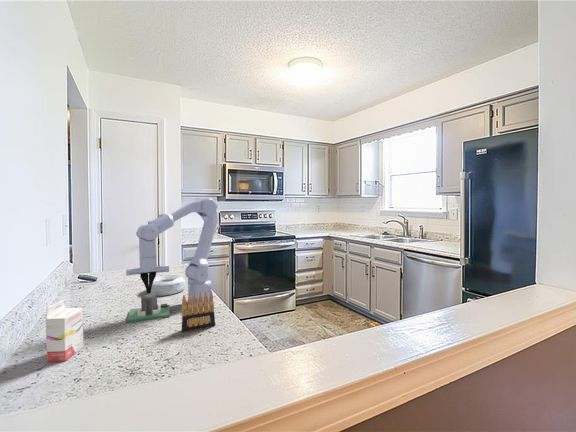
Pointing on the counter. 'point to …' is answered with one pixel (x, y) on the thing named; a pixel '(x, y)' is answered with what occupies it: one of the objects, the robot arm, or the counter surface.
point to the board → (140, 315)
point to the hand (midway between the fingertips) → (149, 292)
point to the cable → (167, 285)
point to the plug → (149, 303)
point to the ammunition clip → (197, 312)
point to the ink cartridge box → (63, 331)
